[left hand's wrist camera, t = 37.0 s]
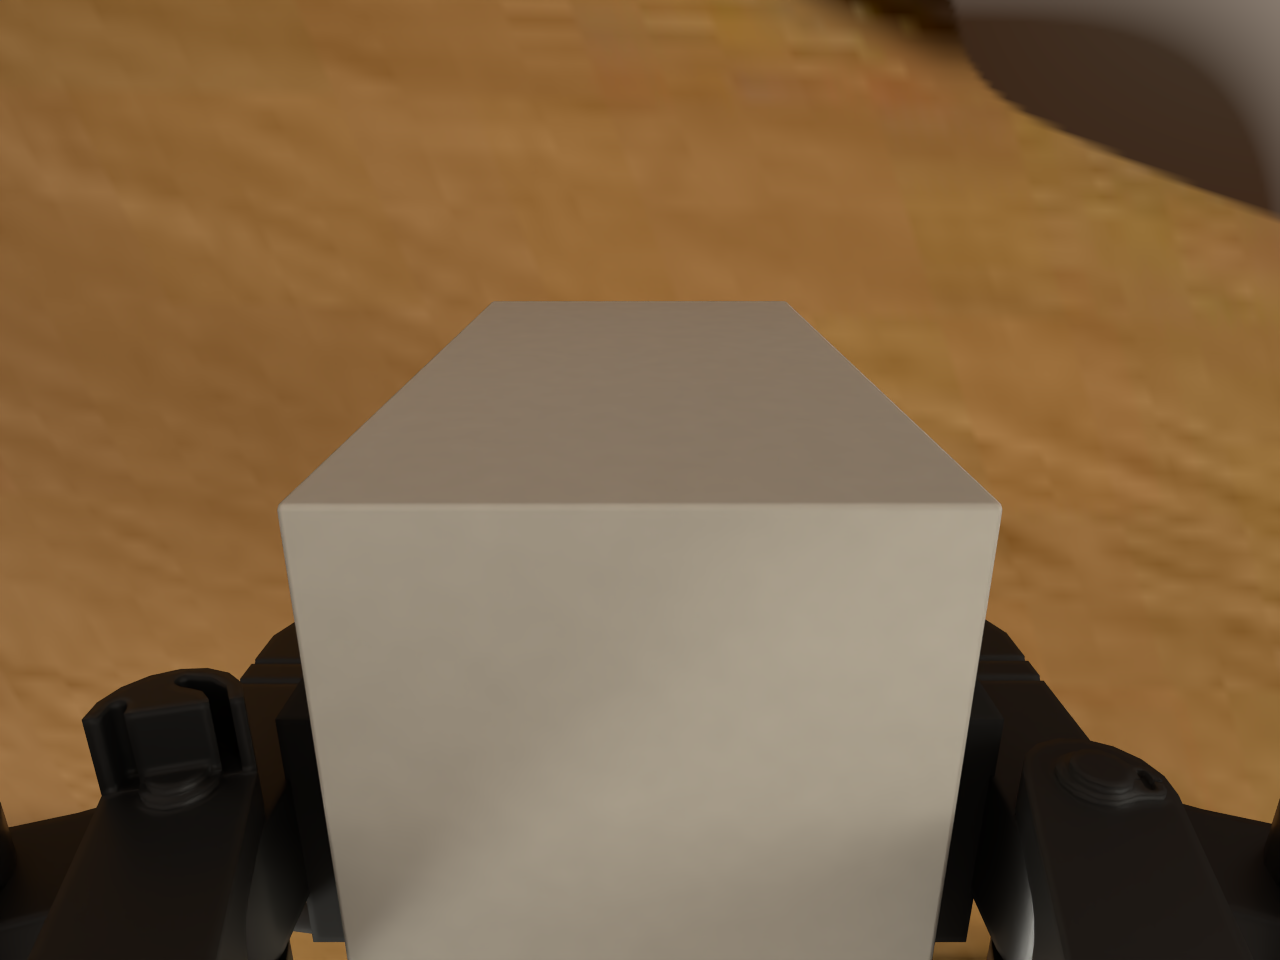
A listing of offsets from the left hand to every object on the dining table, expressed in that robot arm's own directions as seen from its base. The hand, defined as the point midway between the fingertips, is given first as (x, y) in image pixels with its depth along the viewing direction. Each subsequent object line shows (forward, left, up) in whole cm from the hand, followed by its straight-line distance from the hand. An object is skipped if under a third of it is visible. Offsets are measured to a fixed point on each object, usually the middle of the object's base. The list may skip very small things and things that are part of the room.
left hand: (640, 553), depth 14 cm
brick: (0, 0, -2) cm, 2 cm away
